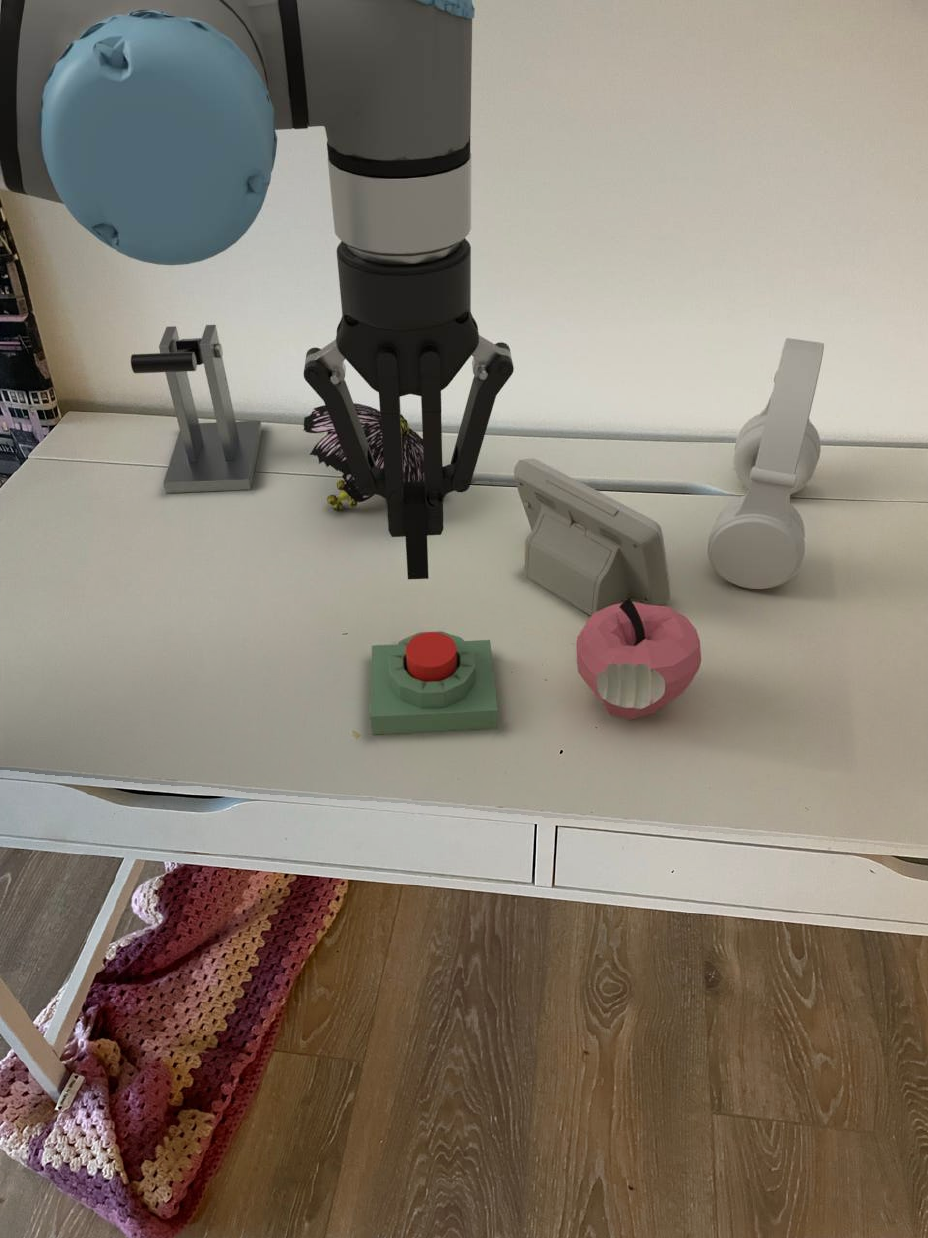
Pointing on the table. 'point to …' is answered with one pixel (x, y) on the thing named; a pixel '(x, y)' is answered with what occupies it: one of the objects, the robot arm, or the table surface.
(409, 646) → the button
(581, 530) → the digital clock
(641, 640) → the apple
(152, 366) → the lever
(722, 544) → the headphones
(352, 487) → the decorative flower
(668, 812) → the table surface
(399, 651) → the button box
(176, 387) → the bracket
